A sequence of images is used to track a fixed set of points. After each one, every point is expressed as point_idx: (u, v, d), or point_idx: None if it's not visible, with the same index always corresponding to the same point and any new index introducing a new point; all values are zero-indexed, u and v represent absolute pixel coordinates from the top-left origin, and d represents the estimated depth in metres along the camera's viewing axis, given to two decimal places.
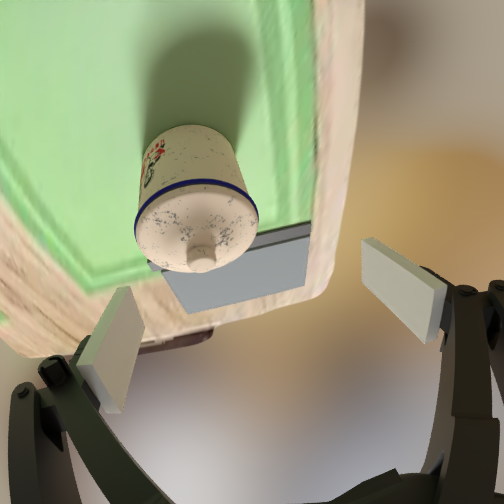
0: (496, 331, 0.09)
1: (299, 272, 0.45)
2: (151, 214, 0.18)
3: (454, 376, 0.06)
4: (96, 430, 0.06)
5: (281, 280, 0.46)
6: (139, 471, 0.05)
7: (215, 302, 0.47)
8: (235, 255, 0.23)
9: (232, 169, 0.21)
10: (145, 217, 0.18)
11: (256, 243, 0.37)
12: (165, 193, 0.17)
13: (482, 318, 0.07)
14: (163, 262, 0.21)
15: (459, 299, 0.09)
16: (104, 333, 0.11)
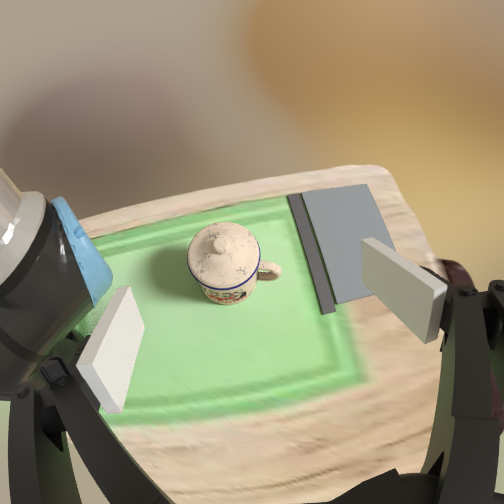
0: (496, 331, 0.09)
1: (346, 191, 0.50)
2: (198, 274, 0.34)
3: (454, 376, 0.06)
4: (96, 430, 0.06)
5: (357, 204, 0.49)
6: (139, 471, 0.05)
7: None
8: (241, 230, 0.37)
9: None
10: (200, 278, 0.34)
11: (307, 229, 0.47)
12: (190, 268, 0.35)
13: (482, 318, 0.07)
14: (238, 272, 0.34)
15: (459, 299, 0.09)
16: (104, 333, 0.11)
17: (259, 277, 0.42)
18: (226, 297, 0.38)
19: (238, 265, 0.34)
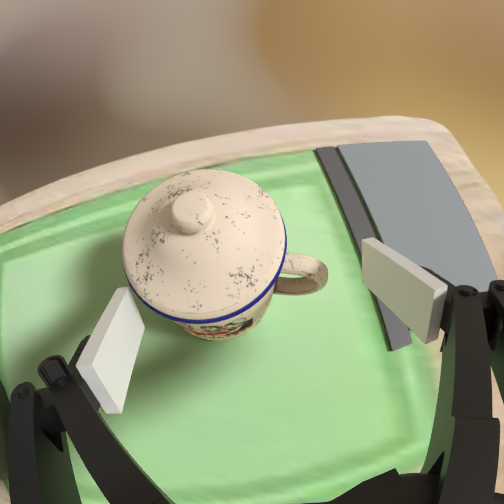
0: (497, 331, 0.09)
1: (402, 148, 0.29)
2: (139, 285, 0.14)
3: (454, 376, 0.06)
4: (96, 430, 0.06)
5: (420, 166, 0.28)
6: (139, 471, 0.05)
7: (474, 248, 0.24)
8: (242, 184, 0.16)
9: None
10: (145, 295, 0.14)
11: (354, 201, 0.26)
12: (125, 269, 0.15)
13: (482, 318, 0.07)
14: (235, 280, 0.14)
15: (459, 299, 0.09)
16: (104, 333, 0.11)
17: (278, 288, 0.21)
18: (210, 331, 0.17)
19: (235, 263, 0.14)
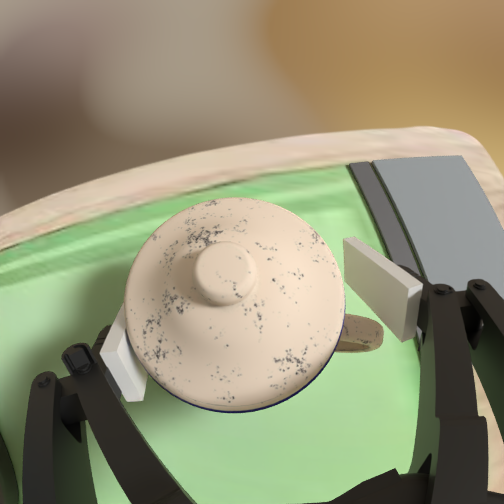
0: (477, 330, 0.09)
1: (440, 164, 0.25)
2: (148, 362, 0.10)
3: (435, 377, 0.06)
4: (117, 419, 0.06)
5: (459, 185, 0.24)
6: (157, 462, 0.05)
7: None
8: (290, 225, 0.12)
9: None
10: (156, 375, 0.10)
11: (394, 228, 0.22)
12: None
13: (460, 316, 0.08)
14: (281, 367, 0.09)
15: (435, 298, 0.09)
16: None
17: None
18: None
19: (283, 344, 0.09)
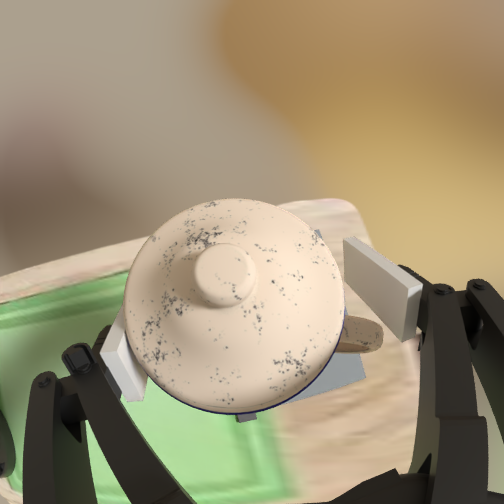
0: (477, 330, 0.09)
1: None
2: (147, 364, 0.10)
3: (435, 377, 0.06)
4: (117, 419, 0.07)
5: None
6: (158, 462, 0.05)
7: None
8: (290, 226, 0.12)
9: None
10: (155, 377, 0.10)
11: None
12: (128, 335, 0.11)
13: (460, 316, 0.08)
14: (280, 369, 0.09)
15: (435, 298, 0.09)
16: None
17: None
18: None
19: (283, 346, 0.09)
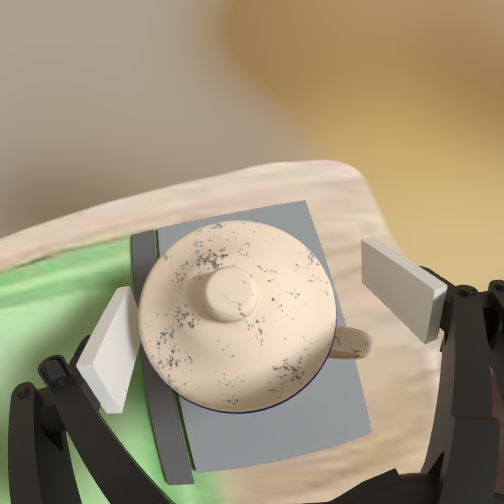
0: (496, 331, 0.09)
1: (255, 220, 0.25)
2: (161, 369, 0.11)
3: (454, 376, 0.06)
4: (96, 430, 0.06)
5: None
6: (139, 471, 0.05)
7: (334, 377, 0.19)
8: (288, 247, 0.13)
9: None
10: (169, 381, 0.11)
11: None
12: (143, 344, 0.12)
13: (482, 318, 0.07)
14: (279, 374, 0.11)
15: (459, 299, 0.09)
16: (104, 333, 0.11)
17: None
18: None
19: (281, 355, 0.11)
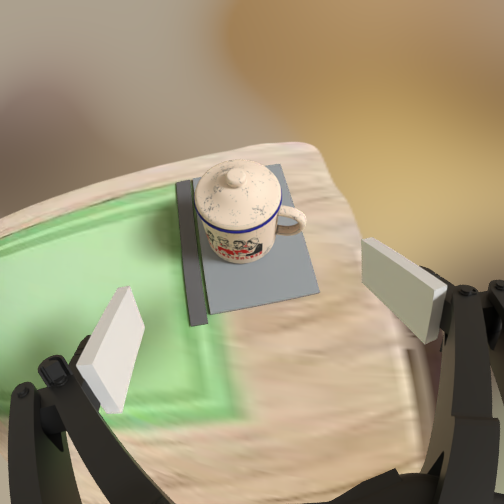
0: (496, 331, 0.09)
1: None
2: (205, 212, 0.28)
3: (454, 376, 0.06)
4: (96, 430, 0.06)
5: None
6: (139, 471, 0.05)
7: (294, 256, 0.36)
8: (260, 168, 0.30)
9: None
10: (208, 217, 0.28)
11: (189, 221, 0.39)
12: (196, 206, 0.29)
13: (482, 318, 0.07)
14: (254, 211, 0.28)
15: (459, 299, 0.09)
16: (104, 333, 0.11)
17: (278, 231, 0.35)
18: (238, 248, 0.32)
19: (255, 203, 0.28)
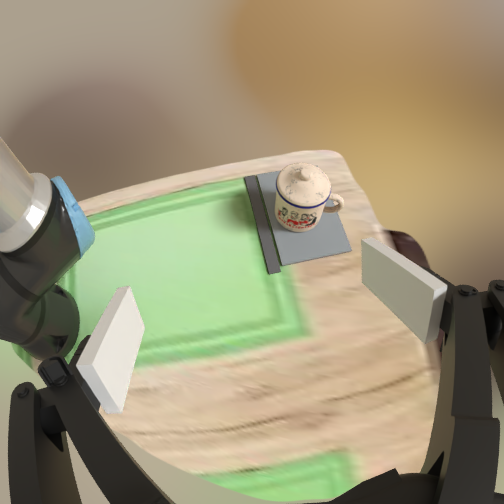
0: (496, 331, 0.09)
1: None
2: (287, 195, 0.45)
3: (454, 376, 0.06)
4: (96, 430, 0.06)
5: None
6: (139, 471, 0.05)
7: (333, 227, 0.53)
8: (316, 169, 0.47)
9: None
10: (289, 198, 0.45)
11: (259, 204, 0.55)
12: (279, 191, 0.46)
13: (482, 318, 0.07)
14: (317, 195, 0.44)
15: (459, 299, 0.09)
16: (104, 333, 0.11)
17: (324, 210, 0.52)
18: (302, 219, 0.48)
19: (317, 190, 0.44)
